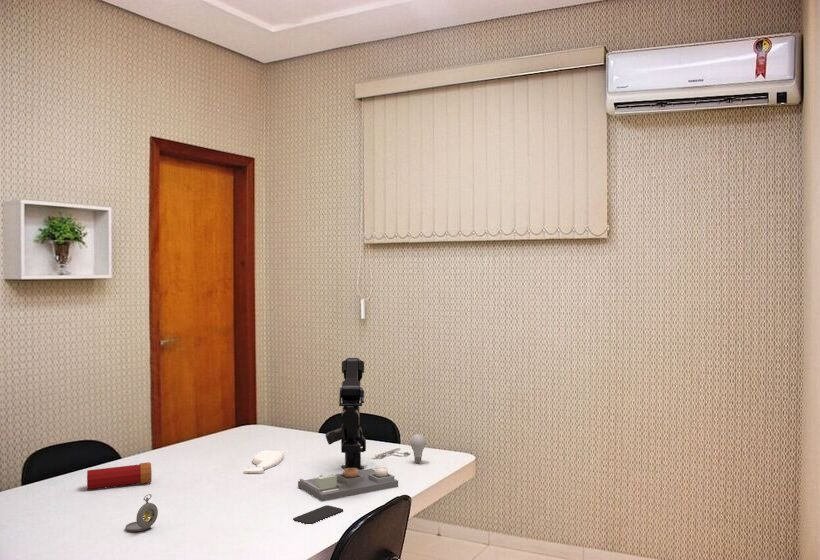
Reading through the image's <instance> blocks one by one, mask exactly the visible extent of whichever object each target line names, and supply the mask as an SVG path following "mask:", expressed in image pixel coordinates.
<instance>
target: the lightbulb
mask: <svg viewBox="0 0 820 560" xmlns="http://www.w3.org/2000/svg"><path fill="white" fill-rule="evenodd" d="M409 443H410V444H409V445H410V448H411V449H412V452H413V456H414V462H415V463H416V464H420V463H421V462H422V457H423V451H424V450H425V447H426V445H427V440H426V438H425V436H424V435H422V434H419V433H417V434H414V435H412V437H411V438H410V441H409Z"/></svg>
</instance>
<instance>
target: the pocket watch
mask: <svg viewBox="0 0 820 560" xmlns="http://www.w3.org/2000/svg"><path fill="white" fill-rule="evenodd" d="M149 496H150V497H149ZM152 496H153V495H152V494H151V493H149V494H146V495H145V496H144V497H143V501H145V503H144V504H143V505H141V506H140V508H139V509H138V511H137V514H136V517H135V518H136V519H135V520H136V521H133V522H129V523H127V524H126V525H125V530H126V531H128V532H132V533H133V532H138V533H139V532H142V531H145V530H148V529H150V528H151V527H152V526H153V525H154V524H155V522H156V520H157V519H158V515H159V509H158V507H157V505H156V504H155V503H153V502H149V500H150V499H151V498H152Z"/></svg>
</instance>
